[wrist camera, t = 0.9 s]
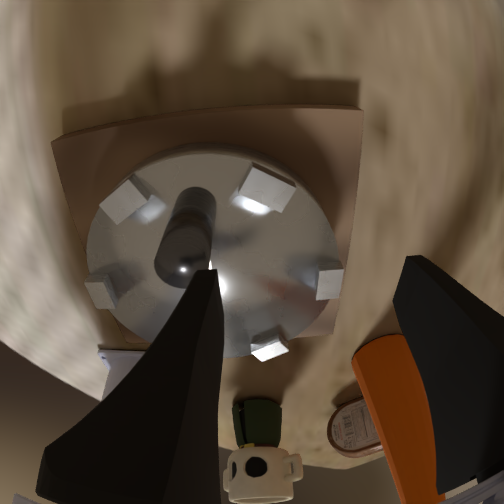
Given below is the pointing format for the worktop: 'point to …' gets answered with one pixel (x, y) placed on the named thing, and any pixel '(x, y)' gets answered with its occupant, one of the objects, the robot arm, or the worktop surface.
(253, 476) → the character mug
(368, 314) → the worktop surface
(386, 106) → the worktop surface
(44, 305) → the worktop surface
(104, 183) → the base board
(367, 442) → the tin
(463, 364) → the robot arm
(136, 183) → the grey disc with blocks
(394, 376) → the spray bottle
